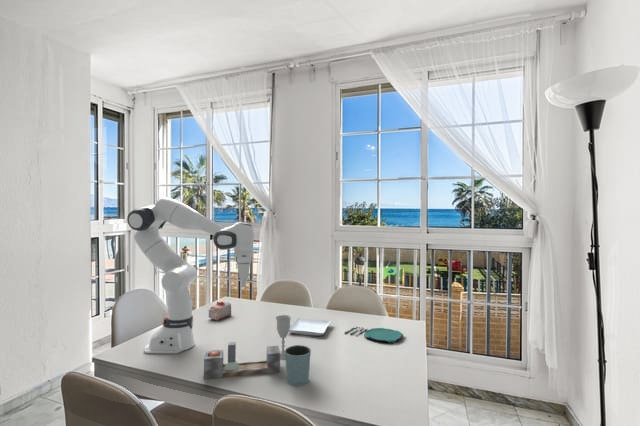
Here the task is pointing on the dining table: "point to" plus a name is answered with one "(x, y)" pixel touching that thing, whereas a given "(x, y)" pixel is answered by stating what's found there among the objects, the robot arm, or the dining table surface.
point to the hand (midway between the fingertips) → (243, 286)
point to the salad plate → (309, 326)
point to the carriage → (231, 357)
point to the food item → (220, 311)
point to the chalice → (283, 330)
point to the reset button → (213, 353)
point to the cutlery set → (380, 334)
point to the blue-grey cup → (297, 364)
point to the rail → (241, 365)
